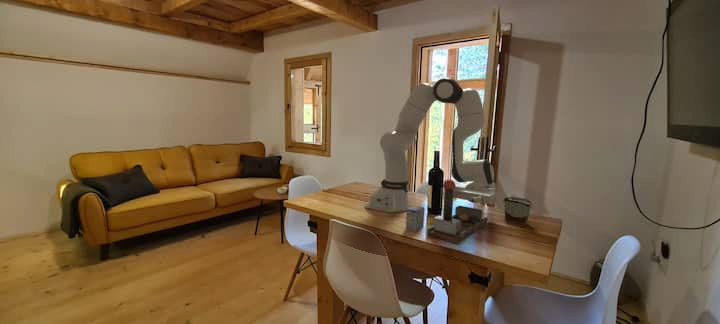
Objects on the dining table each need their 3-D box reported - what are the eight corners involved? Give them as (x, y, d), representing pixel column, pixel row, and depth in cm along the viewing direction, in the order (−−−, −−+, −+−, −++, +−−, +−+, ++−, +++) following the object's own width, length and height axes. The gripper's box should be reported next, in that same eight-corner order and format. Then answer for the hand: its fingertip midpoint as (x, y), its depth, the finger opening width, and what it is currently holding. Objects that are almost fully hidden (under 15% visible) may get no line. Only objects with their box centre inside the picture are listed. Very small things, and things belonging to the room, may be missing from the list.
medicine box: (414, 224, 132) (414, 204, 131) (423, 226, 130) (424, 206, 129) (405, 229, 126) (406, 208, 125) (415, 232, 124) (416, 211, 122)
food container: (536, 223, 136) (538, 201, 134) (528, 226, 132) (531, 203, 131) (509, 216, 146) (511, 195, 144) (501, 218, 142) (503, 197, 141)
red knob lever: (455, 236, 113) (458, 182, 111) (433, 230, 119) (435, 178, 116) (460, 233, 117) (463, 180, 114) (438, 227, 123) (441, 177, 120)
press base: (456, 244, 111) (458, 226, 110) (427, 236, 119) (427, 218, 118) (487, 224, 134) (488, 208, 133) (460, 218, 141) (461, 203, 140)
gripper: (453, 181, 142) (438, 186, 132) (499, 189, 129) (487, 194, 118) (452, 195, 143) (437, 201, 133) (498, 203, 129) (486, 210, 119)
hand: (461, 198), depth 125 cm, fingers open, 8 cm apart
